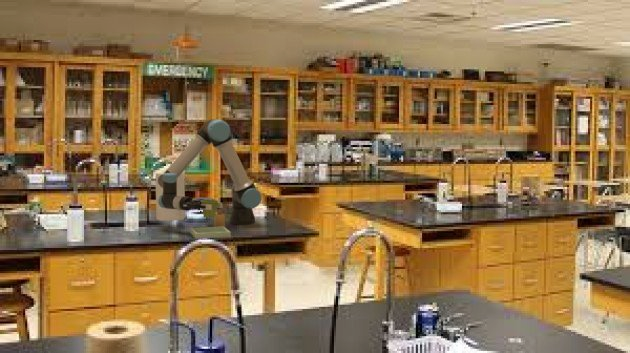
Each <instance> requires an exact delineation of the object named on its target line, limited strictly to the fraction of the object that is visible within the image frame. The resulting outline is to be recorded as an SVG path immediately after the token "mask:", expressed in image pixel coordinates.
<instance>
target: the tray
mask: <svg viewBox="0 0 630 353" xmlns="http://www.w3.org/2000/svg"><path fill="white" fill-rule="evenodd" d="M189 233H190V235H191V236H192V237H193V238H194V239H195V240H197V239H199V238H207V237H209V238H214V240H215V238H217V239H231V238H232V232H231V231H230V230H229V229H228V228H226V226H225V227H214V226H212V227H211V226H210V227H209V226H208V227H207V226H206V227H194V228H193V227H191V228H190V231H189ZM197 241H198V240H197Z"/></svg>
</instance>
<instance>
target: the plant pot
mask: <svg viewBox="0 0 630 353" xmlns="http://www.w3.org/2000/svg"><path fill="white" fill-rule="evenodd" d="M218 203H220V202H219V200H218V199H217V200H216V199H215V200H201V204H209V205H212V210H204V209H203V212H202V214H203V218H206V219H207V218H209V219H212V218H213V219H214V217H215V216H216V214H217V204H218Z"/></svg>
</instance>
